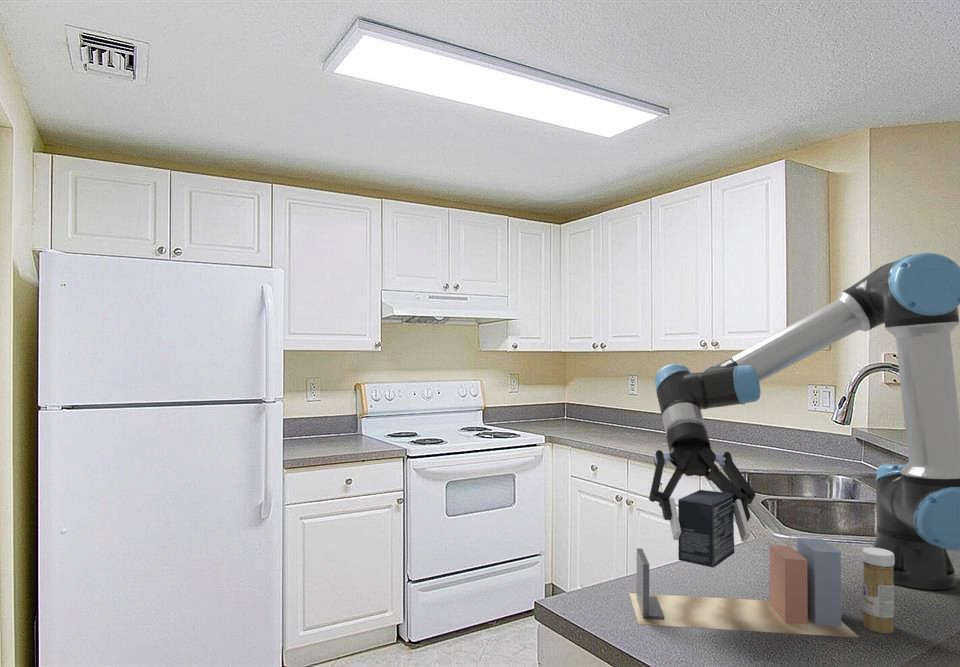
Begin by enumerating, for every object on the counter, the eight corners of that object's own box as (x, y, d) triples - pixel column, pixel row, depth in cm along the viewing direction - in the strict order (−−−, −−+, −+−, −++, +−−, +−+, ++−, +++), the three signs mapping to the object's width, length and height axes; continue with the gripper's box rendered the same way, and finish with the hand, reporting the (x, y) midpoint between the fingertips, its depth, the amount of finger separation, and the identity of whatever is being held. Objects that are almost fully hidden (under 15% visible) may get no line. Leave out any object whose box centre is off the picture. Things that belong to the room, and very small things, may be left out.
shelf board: (822, 609, 116) (822, 603, 116) (859, 643, 102) (859, 637, 102) (629, 598, 120) (629, 593, 120) (638, 630, 106) (638, 624, 106)
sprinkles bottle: (856, 627, 109) (856, 546, 109) (884, 627, 109) (883, 546, 109) (873, 639, 104) (872, 554, 104) (901, 639, 104) (900, 555, 104)
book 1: (790, 605, 115) (790, 545, 115) (807, 624, 107) (807, 560, 107) (769, 604, 115) (769, 545, 116) (785, 623, 108) (785, 559, 108)
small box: (698, 546, 118) (699, 488, 118) (735, 553, 114) (735, 493, 114) (675, 560, 110) (676, 497, 110) (714, 568, 106) (714, 503, 106)
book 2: (821, 607, 114) (821, 538, 115) (841, 626, 106) (840, 552, 107) (797, 606, 115) (797, 537, 115) (815, 624, 107) (815, 551, 107)
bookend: (656, 599, 117) (656, 549, 118) (664, 619, 108) (664, 565, 109) (636, 598, 118) (636, 548, 118) (642, 618, 109) (643, 564, 109)
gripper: (741, 445, 127) (775, 549, 111) (622, 443, 128) (638, 546, 112) (752, 421, 122) (788, 526, 106) (628, 418, 123) (645, 523, 107)
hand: (711, 536), depth 109 cm, fingers closed on small box, 11 cm apart
